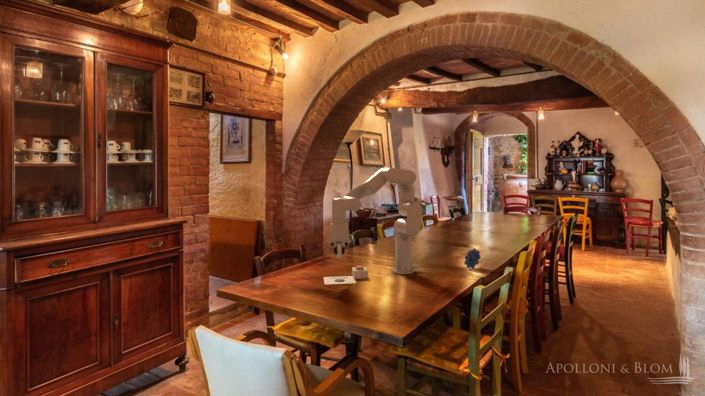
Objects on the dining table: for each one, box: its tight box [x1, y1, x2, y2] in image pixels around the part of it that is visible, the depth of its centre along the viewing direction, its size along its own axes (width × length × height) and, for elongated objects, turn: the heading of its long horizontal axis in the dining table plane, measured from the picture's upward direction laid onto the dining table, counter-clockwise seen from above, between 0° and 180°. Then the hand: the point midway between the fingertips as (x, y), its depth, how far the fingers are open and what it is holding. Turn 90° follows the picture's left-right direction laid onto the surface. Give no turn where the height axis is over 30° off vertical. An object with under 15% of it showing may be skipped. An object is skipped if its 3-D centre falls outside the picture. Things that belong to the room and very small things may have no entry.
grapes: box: [464, 248, 482, 269], centre depth 251 cm, size 12×7×12 cm, turn 112°
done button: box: [355, 265, 364, 270], centre depth 234 cm, size 4×4×3 cm
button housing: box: [351, 266, 369, 280], centre depth 234 cm, size 8×8×4 cm
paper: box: [323, 275, 357, 286], centre depth 227 cm, size 17×14×1 cm
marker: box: [336, 242, 343, 259], centre depth 224 cm, size 3×3×10 cm
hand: (339, 254), depth 224 cm, fingers closed on marker, 3 cm apart
